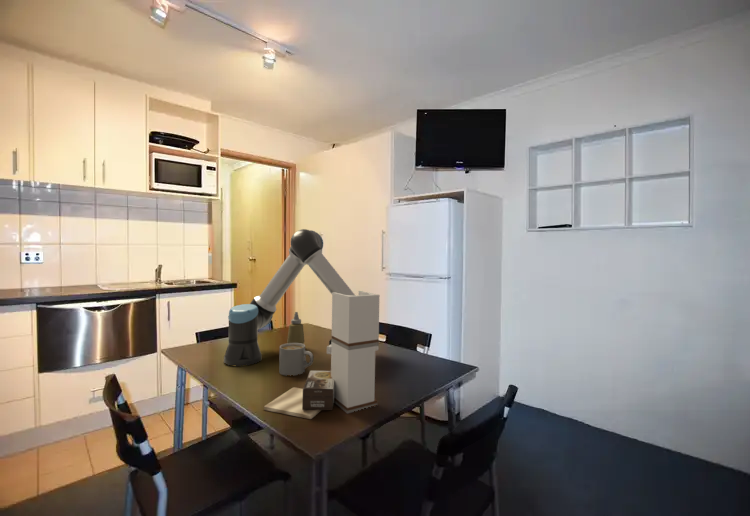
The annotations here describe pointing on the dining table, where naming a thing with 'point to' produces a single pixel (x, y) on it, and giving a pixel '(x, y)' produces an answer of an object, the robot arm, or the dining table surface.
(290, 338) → the squeeze bottle
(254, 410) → the dining table surface
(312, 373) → the coffee box
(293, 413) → the birch board
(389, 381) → the dining table surface
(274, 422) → the dining table surface
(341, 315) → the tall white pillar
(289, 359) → the coffee mug
